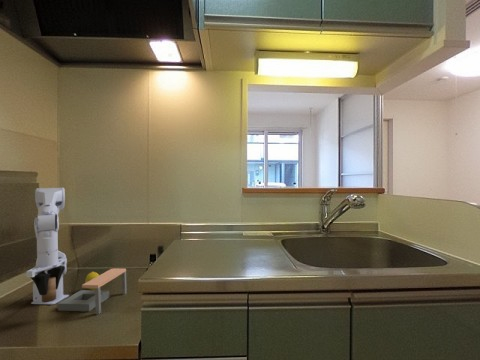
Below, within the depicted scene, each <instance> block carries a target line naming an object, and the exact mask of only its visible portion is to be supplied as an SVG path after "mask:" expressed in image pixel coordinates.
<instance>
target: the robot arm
mask: <svg viewBox="0 0 480 360" xmlns="http://www.w3.org/2000/svg"><path fill="white" fill-rule="evenodd" d="M65 192H66V190H65V188H64V187H42V188H41V187H40V188H39V187H37V188H36V189H35V190H34V199H35V204H36V205H35V206H36V209H37V212H38V213H37V217H34V221H33V222H34V223H33V224H34V225H33V227H34V233H35V239H36V259H35V261H36V262H35V266H34V267H32V268H31V269H29V270H26V278H30V279H31V280H32V281H33V284H32V302H30V303H31V304H32V305H56V304H58V303H59V302H61V301H63V300H65V299H66V298H68V297H70V294H64V275H66V274H67V268H68V267H67V263H68V258H67V255H66V253H64V252H62V251H60V250H59V246H58V245H59V242H58V240H59V239H58V238H59V235H58V233H59V232H58V231H59V229H60V222H59V221H60V219H59V214H60V211H61V210H64V209H65V205H66V204H65V203H66V202H65V201H66V193H65ZM49 277H56V299H55V300H53V301H50V302H42V295H46V294H47V291H48V280H49Z"/></svg>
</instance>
